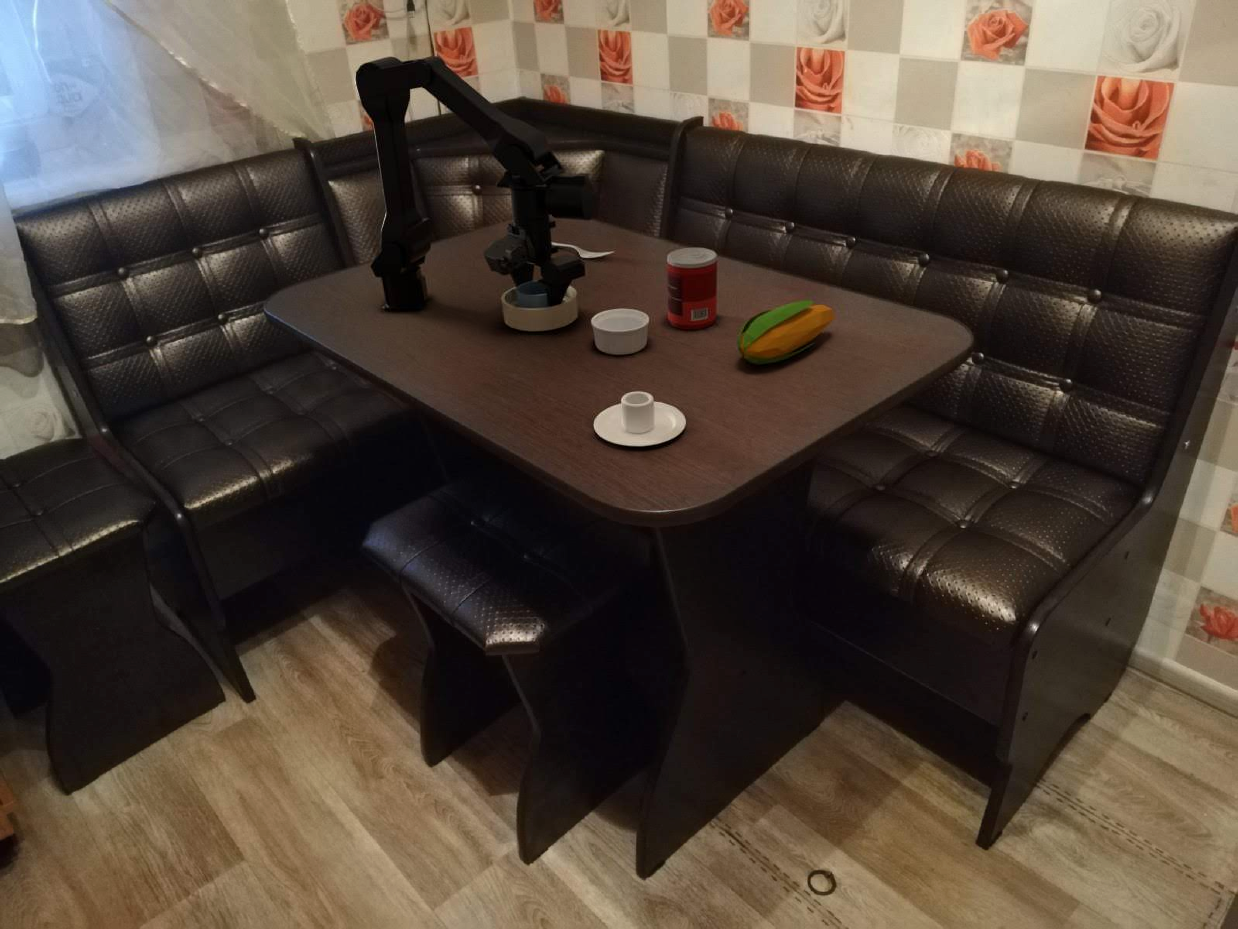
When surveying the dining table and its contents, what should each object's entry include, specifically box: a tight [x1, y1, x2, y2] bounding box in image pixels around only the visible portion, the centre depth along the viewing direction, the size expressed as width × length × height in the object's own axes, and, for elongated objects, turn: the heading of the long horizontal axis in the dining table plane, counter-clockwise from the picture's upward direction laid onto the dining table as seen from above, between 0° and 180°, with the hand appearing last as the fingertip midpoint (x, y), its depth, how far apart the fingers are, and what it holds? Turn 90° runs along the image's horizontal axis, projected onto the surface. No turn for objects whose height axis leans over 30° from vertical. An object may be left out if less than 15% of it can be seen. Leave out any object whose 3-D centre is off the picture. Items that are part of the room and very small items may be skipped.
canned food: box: [666, 247, 718, 331], centre depth 147 cm, size 8×8×11 cm
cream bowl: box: [500, 285, 579, 332], centre depth 152 cm, size 12×12×4 cm
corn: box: [736, 300, 835, 366], centre depth 136 cm, size 7×8×20 cm
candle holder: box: [593, 391, 687, 447], centre depth 119 cm, size 12×12×4 cm
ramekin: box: [590, 308, 650, 356], centre depth 142 cm, size 9×9×4 cm
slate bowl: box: [516, 279, 549, 309], centre depth 152 cm, size 7×7×5 cm
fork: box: [552, 241, 616, 259], centre depth 182 cm, size 3×24×2 cm, turn 48°
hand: (540, 309), depth 152 cm, fingers closed on slate bowl, 7 cm apart
